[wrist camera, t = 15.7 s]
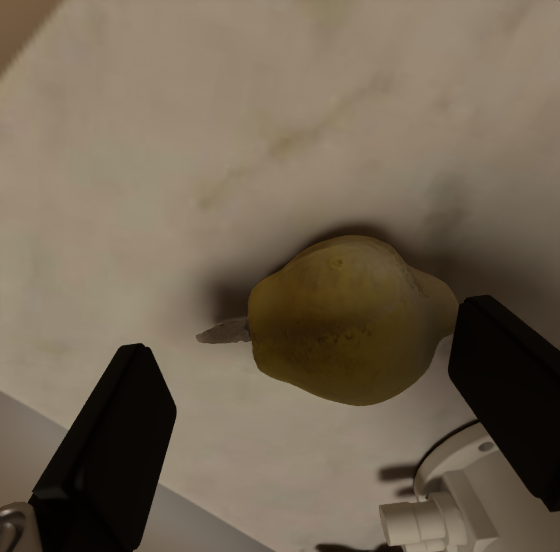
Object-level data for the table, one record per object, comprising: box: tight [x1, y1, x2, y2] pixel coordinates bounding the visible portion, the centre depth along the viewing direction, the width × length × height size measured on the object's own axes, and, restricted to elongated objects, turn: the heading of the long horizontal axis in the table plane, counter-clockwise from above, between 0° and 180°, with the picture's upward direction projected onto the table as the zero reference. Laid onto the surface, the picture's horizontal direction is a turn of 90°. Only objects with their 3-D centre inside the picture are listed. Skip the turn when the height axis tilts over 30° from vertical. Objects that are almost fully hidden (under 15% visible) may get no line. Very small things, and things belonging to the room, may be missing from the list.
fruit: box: [196, 235, 459, 406], centre depth 12 cm, size 6×6×10 cm
